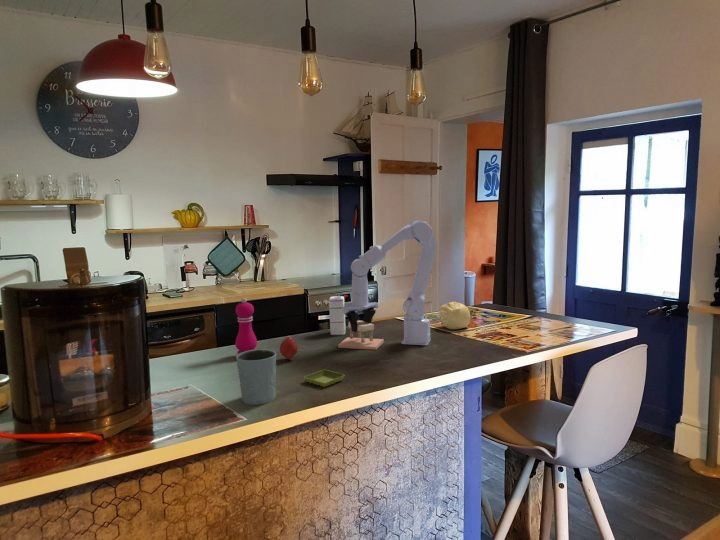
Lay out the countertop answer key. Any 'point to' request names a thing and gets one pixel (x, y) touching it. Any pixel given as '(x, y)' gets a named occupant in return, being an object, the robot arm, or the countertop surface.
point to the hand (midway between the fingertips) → (360, 330)
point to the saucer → (324, 377)
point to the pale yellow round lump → (454, 315)
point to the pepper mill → (245, 327)
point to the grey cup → (257, 375)
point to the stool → (362, 330)
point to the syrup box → (337, 315)
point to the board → (357, 343)
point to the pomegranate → (288, 348)
